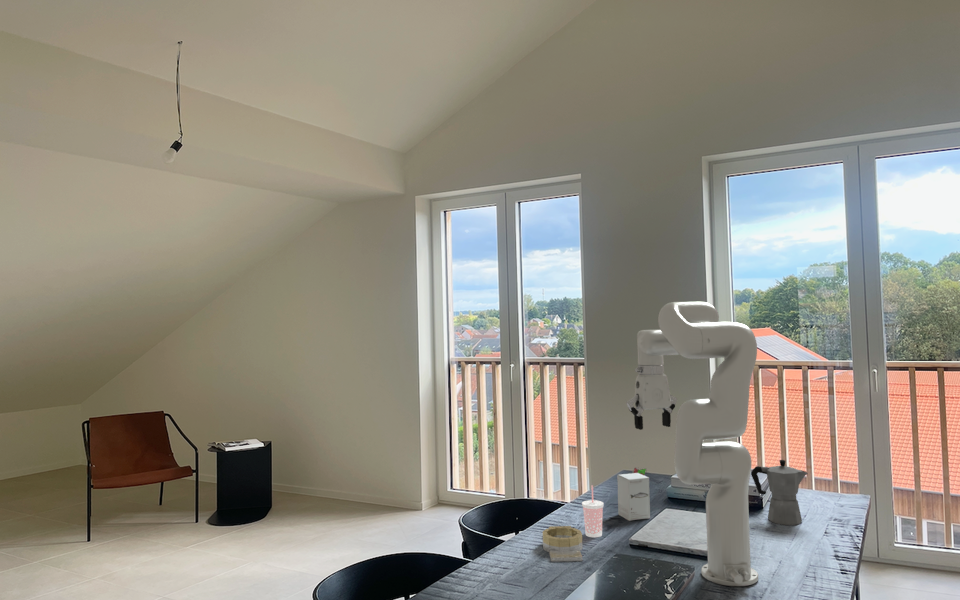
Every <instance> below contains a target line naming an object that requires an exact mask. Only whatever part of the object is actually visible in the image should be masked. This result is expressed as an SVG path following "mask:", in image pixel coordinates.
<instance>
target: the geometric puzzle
mask: <svg viewBox="0 0 960 600" xmlns="http://www.w3.org/2000/svg"><path fill="white" fill-rule="evenodd" d="M646 472H647V468H640V469H639V468H638V467H634V468H633V470H632V472H631V473H639V474H642V475H644V476H647V477H649V475H647V474H645V473H646ZM631 473H630V474H631ZM649 480H651V478H650V477H649Z"/></svg>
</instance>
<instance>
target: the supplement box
mask: <svg viewBox="0 0 960 600" xmlns="http://www.w3.org/2000/svg"><path fill="white" fill-rule="evenodd" d="M647 476H648V475H646V476H644V475H642V474H639V473H623V474H622V473H620V474H617V475H616V479H617V509H618V511H617V514H618V515H619V516H620V517H622V518H624V519H625V520H627V521H628V522H631V521H635V520H647V519H651V503H650V502H651V501H650V500H651V499H650V479H649V478H650V476H648V477H647Z"/></svg>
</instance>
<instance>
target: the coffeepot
mask: <svg viewBox="0 0 960 600" xmlns="http://www.w3.org/2000/svg"><path fill="white" fill-rule="evenodd" d="M758 473H759V474H763V475H766V477H767V482H768V487H769V492H771V497H770V501H769V505H768V515H767V519H768V521H769V522H771V523H773V524H776V525H781V526H782V525H783V526H797V525H800V524H801V523H802V522H803V518H802V514H801V510H800V505H799V501H798V499H797V494H798V493H799V486H800V484H801V482H802V481H803V479H804V478H805V477H806V475H808V472H807V471H806V470H805V471H804V470H801V469H798V468H795V467H792V466H787V465H786V460H785V459H779V465H777V466H776V465H775V466H769V467H768V466H760V465H759V466H755V467H754V468H753V469H751V473H750V476H751V477H752V480H753V483H754V485H755V487H756V490H757V493H758V494H759V495H766V494H767V491H766V490H763V489H762V484H761V482H760V480H759V479H760V478H759V475H758Z"/></svg>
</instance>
